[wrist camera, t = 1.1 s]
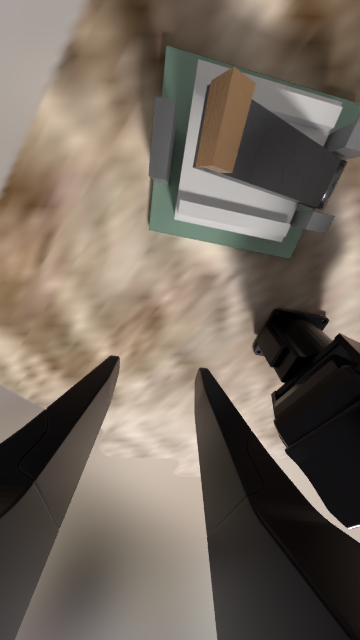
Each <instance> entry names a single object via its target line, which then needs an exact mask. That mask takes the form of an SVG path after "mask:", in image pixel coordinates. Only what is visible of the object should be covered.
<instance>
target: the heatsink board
mask: <svg viewBox="0 0 360 640" xmlns="http://www.w3.org/2000/svg"><path fill="white" fill-rule="evenodd" d="M232 67H235V68H237V69H238V70H239V71H241V72H242V73H243V74H245V75H246V76H247V77H249V78H250V79H251V80H253V81H254V82H255V83H256V85H255V89H254V93H253V96H252V99H253V100H254V101H256V102H257V103H259V104H260V105H262V106H263V107H265V108H266V109H268V110H269V111H271V112H272V113H274V114H275V115H276V116H278V117H279V118H281V119H282V120H284V121H285V122H287V123H288V124H290V125H291V126H293V127H294V128H296V129H297V130H299V131H300V132H302V133H303V134H305V135H306V136H308V137H309V138H311V139H312V140H314V141H315V142H317V143H318V144H320V145H321V146H323V147H324V148H326V149H327V150H329V151H330V152H332V153H333V154H335V155H336V156H338V157H339V158H341V160H346V159H350V158H354V157H357V156H360V121H357V122H356V120H357V118H358V116H359V114H360V104H359V103H356V102H352V101H349V100H346V99H342V98H339V97H336V96H332V95H329V94H326V93H323V92H319V91H316V90H313V89H309V88H306V87H303V86H299V85H296V84H293V83H289V82H286V81H283V80H279V79H276V78H273V77H270V76H266V75H263V74H260V73H256V72H253V71H250V70H246V69H243V68H240V67H236V66H233V65H230V64H227V63H223V62H220V61H217V60H213V59H210V58H207V57H203V56H200V55H197V54H193V53H190V52H187V51H183V50H180V49H177V48H174V47H170V46H167V45H166V55H165V66H164V77H163V87H162V97H158V96H155V103H154V115H153V127H152V140H151V152H150V164H149V177H150V178H152V179H153V180H154V183H153V193H152V204H151V215H150V225H149V230H151V231H156V232H161V233H166V234H170V235H175V236H180V237H185V238H190V239H195V240H200V241H205V242H210V243H215V244H220V245H224V246H229V247H234V248H239V249H244V250H249V251H254V252H259V253H264V254H269V255H274V256H279V257H283V258H288V259H290V258H291V256H292V254H293V251H294V249H295V247H296V245H297V243H298V241H299V239H300V237H301V235H302V233H303V231H304V229H305V230H310V231H315V232H319V233H324V234H326V232H327V230H328V228H329V226H330V224H331V222H332V221H333V219H334V217H335V216H331V215H327V214H323V213H318V212H314V211H313V210H314V208H310V207H307V206H304V205H301V204H298V203H296V202H293V201H290V200H287V199H284V198H281V197H278V196H275V195H272V194H269V193H266V192H263V191H260V190H257V189H254V188H251V187H248V186H245V185H242V184H239V183H237V182H234V181H231V180H228V179H225V178H222V177H219V176H216V175H213V174H210V173H207V172H204V171H201V170H198V169H195V168H193V162H194V157H195V151H196V145H197V140H198V134H199V128H200V123H201V117H202V111H203V105H204V100H205V94H206V88H207V85H209V84H211V80H213V79H214V78H216V77H218V76H219V75H221V74H223V73H224V72H226V71H228V70H229V69H231V68H232Z"/></svg>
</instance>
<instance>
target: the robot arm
mask: <svg viewBox="0 0 360 640" xmlns="http://www.w3.org/2000/svg"><path fill="white" fill-rule="evenodd" d="M278 312H279V313H278ZM276 313H278V314H276ZM323 320H324V321H323ZM322 321H323V322H322ZM328 322H329V319H328V318H327V317H325V316H320V315H314V314H308V313H302V312H297V311H291V310H285V309H280V308H277V309H275V310H274V311H273V312H272V314H271V316H270V318H269V320H268V322H267V324H266V325H265V326H264V328H263V330H262V332H261V334H260V336H259V338H258V340H257V344H256V346H255V348H254V350H253V351H254V353H255V354H256V355H261V356H265V358H266V360H267V362H268V363H269V365H270V367H273V368H274V370H275V371H276V373H277V375H278V377H279V378H280V380H281V382H283V383H285V384H284V385H283V386H281V387H280V388H279V389H278V390H277V391H274V392H273V393H272V394H271V396H272V403H273V409H274V416H275V420H274V425H275V427H276V429H277V432H278V434H279V437H280V438H281V440H282V442H283V443H284V445H285V446H286V449H285V452H286V454H287V455H288V456H289V457H290V458H291V459H292V460H293V461H294V462H295V463H296V464H297V465H298V466H299V467H300V469H301V470H302V471H303V472H304V474H305V475H306V476H307V478H308V479H309V481H310V482H311V484H312V485H313V487H314V488H315V490H316V491H317V493H318V495H319V496H320V498H321V499H322V501H323V503H324V504H325V506H326V508H327V509H328V511H329V512H330V513H331V514H332V515H333V516H334V517H336V518H337V519H338V520H339V521H340V522H341V523H342V524H343V525H344V526H345V527H347V528H349V529H353V528H356V527H360V343H359V342H357V341H355V340H353V339H351V338H348V337H346V336H344V335H342V334H340V333H339V334H338V335H337V336H336V337H335V339H334V340H333V341H332V340H331V339H330V338H329V337H328V336H327V335H326V334H325V333H324V332H322V331H323V329H324V328H325V326H326V325H327V324H328ZM258 350H259V351H258ZM119 368H120V358H119V356H109V357H108V358H107V359H106V360H105V361H103V362H102V363H101V364H100V365H98V366H97V367H96V368H95V369H94V370H92V371H91V372H90V373H89V374H87V375H86V376H85V377H84V378H83V379H81V380H80V381H79V382H78V383H77V384H75V385H74V386H73V387H72V388H70V389H69V390H68V391H67V392H66V393H64V394H63V395H62V396H61V397H60V398H58V399H57V400H56V401H55V402H53V403H52V404H51V405H50V406H49V407H47V410H44V411H42V412H41V413H40V414H39V415H38V416H37V417H35V418H34V419H33V420H31V421H30V422H29V423H27V424H26V425H25V426H24V427H23V428H21V429H20V430H18V431H17V432H16V433H14V434H13V435H12V436H10V437H9V438H7V439H6V440H5V441H3V442H2V443H0V640H15V638H16V635H17V632H18V630H19V628H20V625H21V622H22V620H23V618H24V615H25V613H26V610H27V608H28V606H29V603H30V601H31V598H32V596H33V593H34V591H35V588H36V586H37V583H38V581H39V578H40V576H41V573H42V571H43V568H44V566H45V563H46V561H47V559H48V556H49V554H50V551H51V549H52V546H53V544H54V542H55V539H56V536H57V534H58V532H59V528H60V527H61V524H62V521H63V519H64V517H65V514H66V512H67V509H68V507H69V504H70V502H71V499H72V497H73V494H74V492H75V490H76V487H77V484H78V482H79V480H80V477H81V475H82V472H83V470H84V467H85V465H86V462H87V460H88V458H89V455H90V453H91V450H92V448H93V445H94V443H95V440H96V438H97V435H98V433H99V430H100V428H101V426H102V423H103V421H104V418H105V416H106V413H107V411H108V408H109V406H110V403H111V399H112V396H113V392H114V389H115V385H116V381H117V378H118V374H119ZM195 424H196V433H197V443H198V453H199V463H200V473H201V482H202V492H203V501H204V512H205V521H206V530H207V541H208V552H209V562H210V572H211V581H212V591H213V601H214V611H215V621H216V630H217V639H218V640H360V543H359V542H357V541H356V540H355V539H353V538H352V537H350V536H349V535H347V534H346V533H344V532H343V531H342V530H340V529H339V528H337V527H336V526H334V525H333V524H332V523H330V522H329V521H328V520H327V519H325V518H324V517H323V516H322V515H321V514H320V513H319V512H318V511H317V510H316V509H315V508H314V507H313V506H312V505H311V504H310V503H309V502H308V500H307V499H306V498H305V497H304V496H303V494H301V492H300V491H299V490H298V489H297V487H296V486H295V485H294V484H293V482H292V481H291V480H290V479H289V478H288V476H287V475H286V474H285V473H284V472H283V470H281V468H280V467H279V466H278V464H277V463H276V462H275V461H274V459H273V458H272V457H271V456H270V454H269V453H268V452H267V451H266V449H265V448H264V447H263V445H262V444H261V443H260V441H259V440H258V439H257V437H256V436H255V434H254V433H253V432H252V431H251V429H250V427H249V426H248V425H247V423H246V422H245V420H244V419H243V418H242V416H241V415H240V413H239V412H238V410H237V409H236V408H235V406H234V405H233V403H232V402H231V401H230V399H229V398H228V396H227V395H226V394H225V392H224V391H223V389H222V388H221V387H220V385H219V384H218V382H217V381H216V380H215V378H214V377H213V375H212V374H211V373H210V371H209V370H208V369H207V368H199V369H198V372H197V375H196V379H195Z"/></svg>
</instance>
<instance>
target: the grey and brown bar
mask: <svg viewBox="0 0 360 640" xmlns="http://www.w3.org/2000/svg"><path fill="white" fill-rule="evenodd" d="M255 85H256V83H255V82H254V81H253V80H251V79H250V78H249V77H247V76H246V75H245V74H243V73H242V72H241V71H239V70H238V69H237V68H235V67H232V68H231V69H229V70H228V71H226V72H224V73H223V74H221V75H219V76H218V77H216V78H214V79H213V80H211V84H209V85H207V88H206V94H205V100H204V105H203V111H202V117H201V123H200V128H199V134H198V140H197V145H196V151H195V157H194V162H193V168H195V169H198V170H201V171H204V172H207V173H210V174H213V175H216V176H219V177H222V178H225V179H228V180H231V181H234V182H237V183H239V184H242V185H245V186H248V187H251V188H254V189H257V190H260V191H263V192H266V193H269V194H272V195H275V196H278V197H281V198H284V199H287V200H290V201H293V202H296V203H298V204H301V205H304V206H307V207H310V208H314V209H321V210H324V208H325V206H326V204H327V202H328V200H329V198H330V196H331V194H332V192H333V190H334V188H335V186H336V184H337V182H338V180H339V178H340V176H341V174H342V172H343V170H344V168H345V166H346V164H347V161H345V160H341V158H339V157H338V156H336V155H335V154H333V153H332V152H330V151H329V150H327V149H326V148H324V147H323V146H321V145H320V144H318V143H317V142H315V141H314V140H312V139H311V138H309V137H308V136H306V135H305V134H303V133H302V132H300V131H299V130H297V129H296V128H294V127H293V126H291V125H290V124H288V123H287V122H285V121H284V120H282V119H281V118H279V117H278V116H276V115H275V114H274V113H272V112H271V111H269V110H268V109H266V108H265V107H263V106H262V105H260V104H259V103H257V102H256V101H254V100H253V99H252V96H253V93H254V89H255Z"/></svg>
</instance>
